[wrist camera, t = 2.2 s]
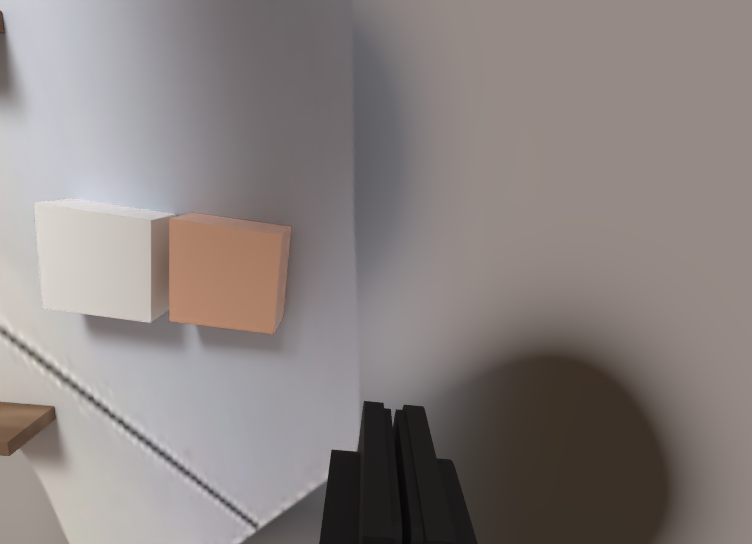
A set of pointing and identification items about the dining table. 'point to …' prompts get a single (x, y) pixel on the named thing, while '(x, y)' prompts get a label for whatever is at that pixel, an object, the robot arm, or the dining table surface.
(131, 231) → the white square tile
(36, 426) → the frame
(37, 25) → the dining table surface
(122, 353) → the dining table surface
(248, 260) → the terracotta tile
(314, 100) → the dining table surface
